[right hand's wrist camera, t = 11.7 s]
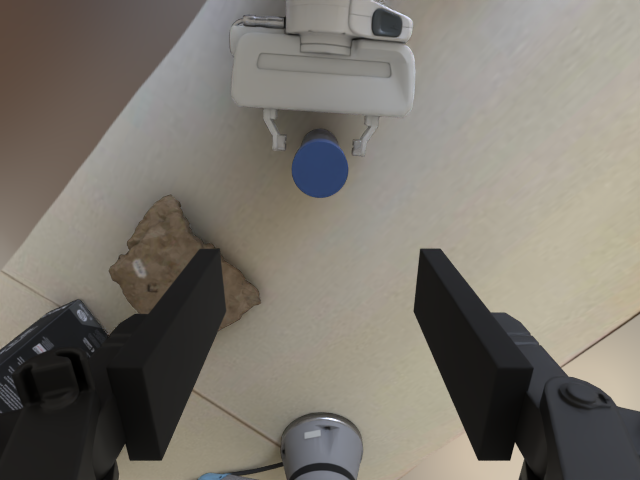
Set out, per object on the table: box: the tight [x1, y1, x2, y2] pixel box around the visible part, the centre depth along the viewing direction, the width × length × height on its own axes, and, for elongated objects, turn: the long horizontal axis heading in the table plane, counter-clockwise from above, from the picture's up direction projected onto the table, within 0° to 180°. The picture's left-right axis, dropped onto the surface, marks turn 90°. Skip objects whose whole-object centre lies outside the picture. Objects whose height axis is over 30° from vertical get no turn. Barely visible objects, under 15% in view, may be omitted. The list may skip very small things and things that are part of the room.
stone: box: [109, 195, 261, 331], centre depth 55 cm, size 21×15×6 cm
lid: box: [292, 139, 348, 198], centre depth 37 cm, size 5×5×2 cm
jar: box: [301, 129, 339, 146], centre depth 43 cm, size 5×5×16 cm
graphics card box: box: [0, 299, 108, 413], centre depth 49 cm, size 17×7×27 cm, turn 25°
